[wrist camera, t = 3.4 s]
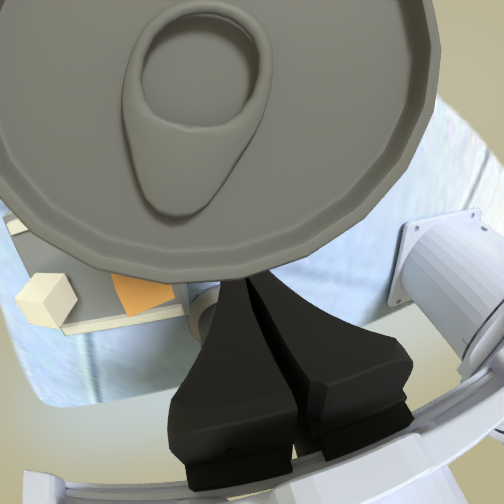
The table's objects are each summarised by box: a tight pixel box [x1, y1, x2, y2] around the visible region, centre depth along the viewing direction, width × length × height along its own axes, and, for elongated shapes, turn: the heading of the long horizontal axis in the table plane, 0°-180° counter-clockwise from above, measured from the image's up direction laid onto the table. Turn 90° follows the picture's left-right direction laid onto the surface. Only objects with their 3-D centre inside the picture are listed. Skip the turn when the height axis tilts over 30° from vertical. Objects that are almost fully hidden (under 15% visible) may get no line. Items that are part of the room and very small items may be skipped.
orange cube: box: [111, 273, 175, 318], centre depth 12 cm, size 2×2×2 cm
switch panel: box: [3, 210, 191, 336], centre depth 14 cm, size 8×8×3 cm
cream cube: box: [15, 273, 78, 329], centre depth 12 cm, size 2×2×2 cm
